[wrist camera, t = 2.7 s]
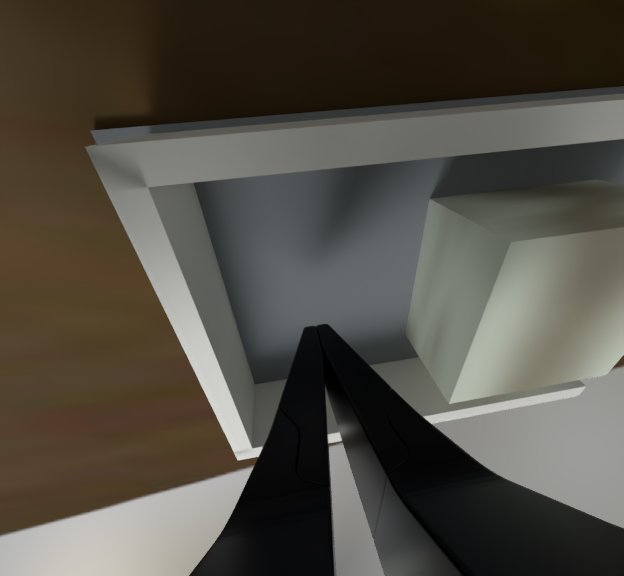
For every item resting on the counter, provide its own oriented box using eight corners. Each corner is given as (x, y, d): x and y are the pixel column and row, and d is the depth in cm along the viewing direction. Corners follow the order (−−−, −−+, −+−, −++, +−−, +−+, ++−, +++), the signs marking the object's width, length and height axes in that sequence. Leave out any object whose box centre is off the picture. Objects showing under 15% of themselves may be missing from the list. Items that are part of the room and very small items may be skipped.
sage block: (597, 179, 11) (748, 210, 7) (528, 314, 14) (605, 375, 11) (429, 198, 10) (510, 242, 7) (405, 334, 14) (448, 404, 11)
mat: (909, 62, 10) (920, 61, 10) (670, 322, 17) (674, 324, 17) (93, 130, 8) (90, 130, 7) (216, 399, 15) (216, 402, 15)
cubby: (660, 90, 9) (841, 80, 6) (522, 345, 16) (578, 395, 13) (151, 133, 8) (85, 146, 5) (243, 392, 15) (238, 460, 12)
